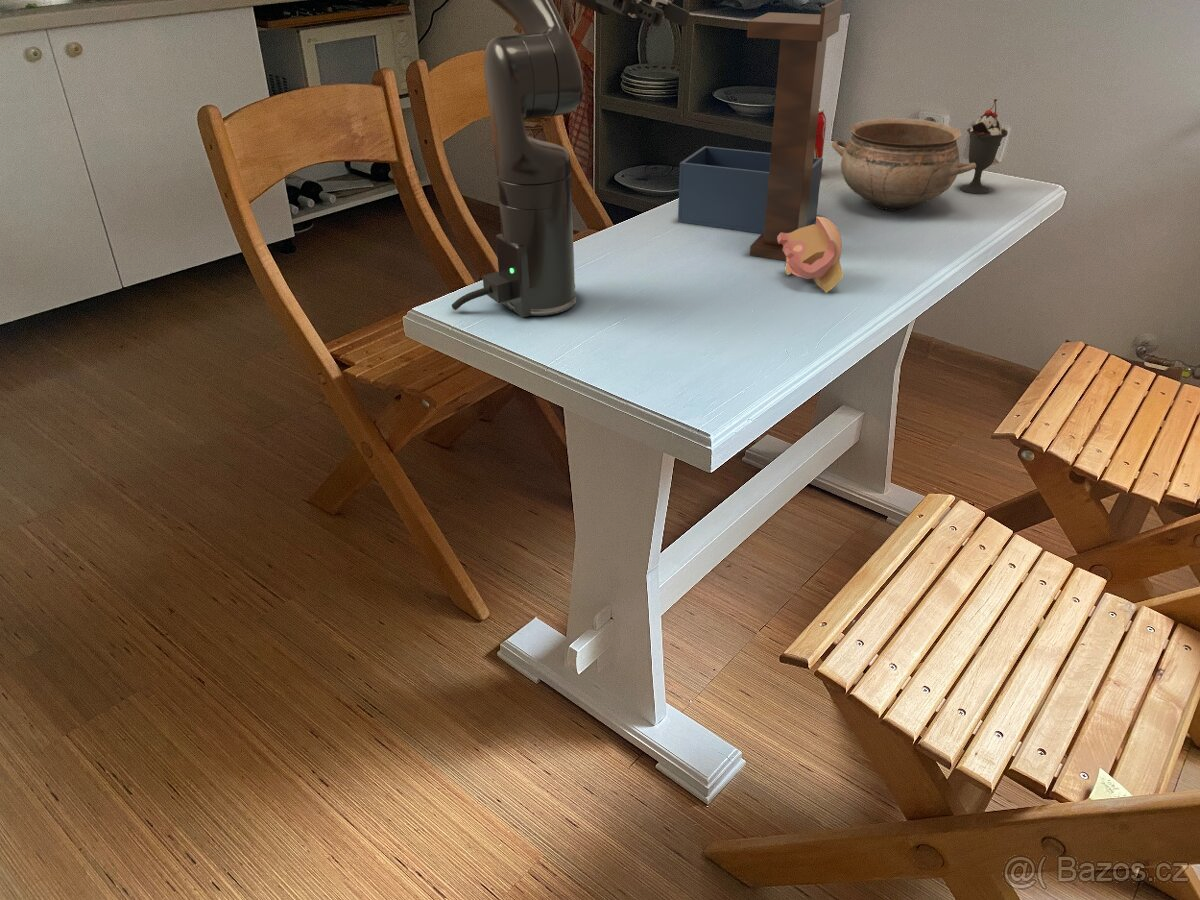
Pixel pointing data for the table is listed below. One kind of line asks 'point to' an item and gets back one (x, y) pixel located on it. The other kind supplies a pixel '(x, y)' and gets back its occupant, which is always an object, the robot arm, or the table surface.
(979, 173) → the sundae
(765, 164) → the blue open box
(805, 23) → the dark wooden post
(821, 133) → the soda can
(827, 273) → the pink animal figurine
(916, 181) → the cooking pot
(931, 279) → the table surface
